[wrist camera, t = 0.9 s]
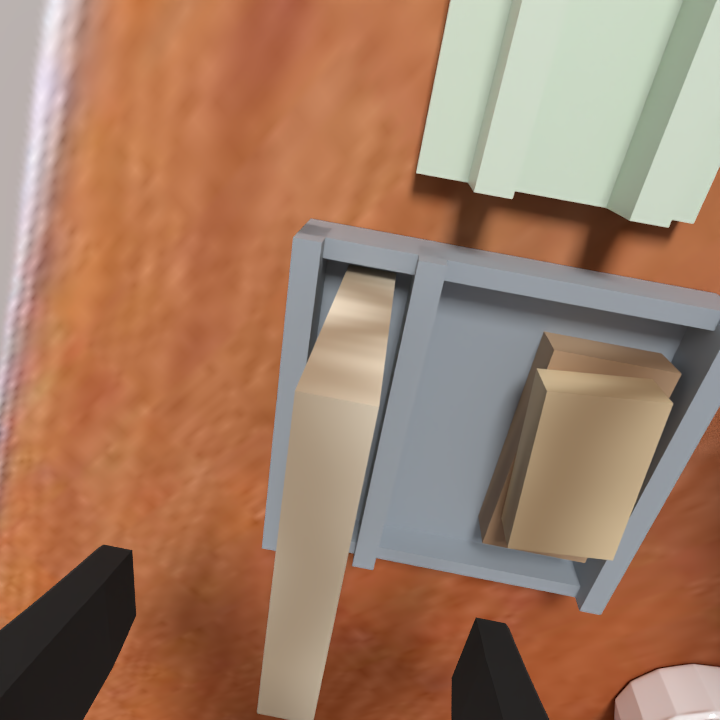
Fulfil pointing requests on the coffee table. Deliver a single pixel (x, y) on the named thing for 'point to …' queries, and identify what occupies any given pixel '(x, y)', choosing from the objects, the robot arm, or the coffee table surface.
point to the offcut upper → (582, 461)
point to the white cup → (672, 695)
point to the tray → (483, 393)
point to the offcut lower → (573, 358)
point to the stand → (580, 103)
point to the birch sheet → (324, 489)
